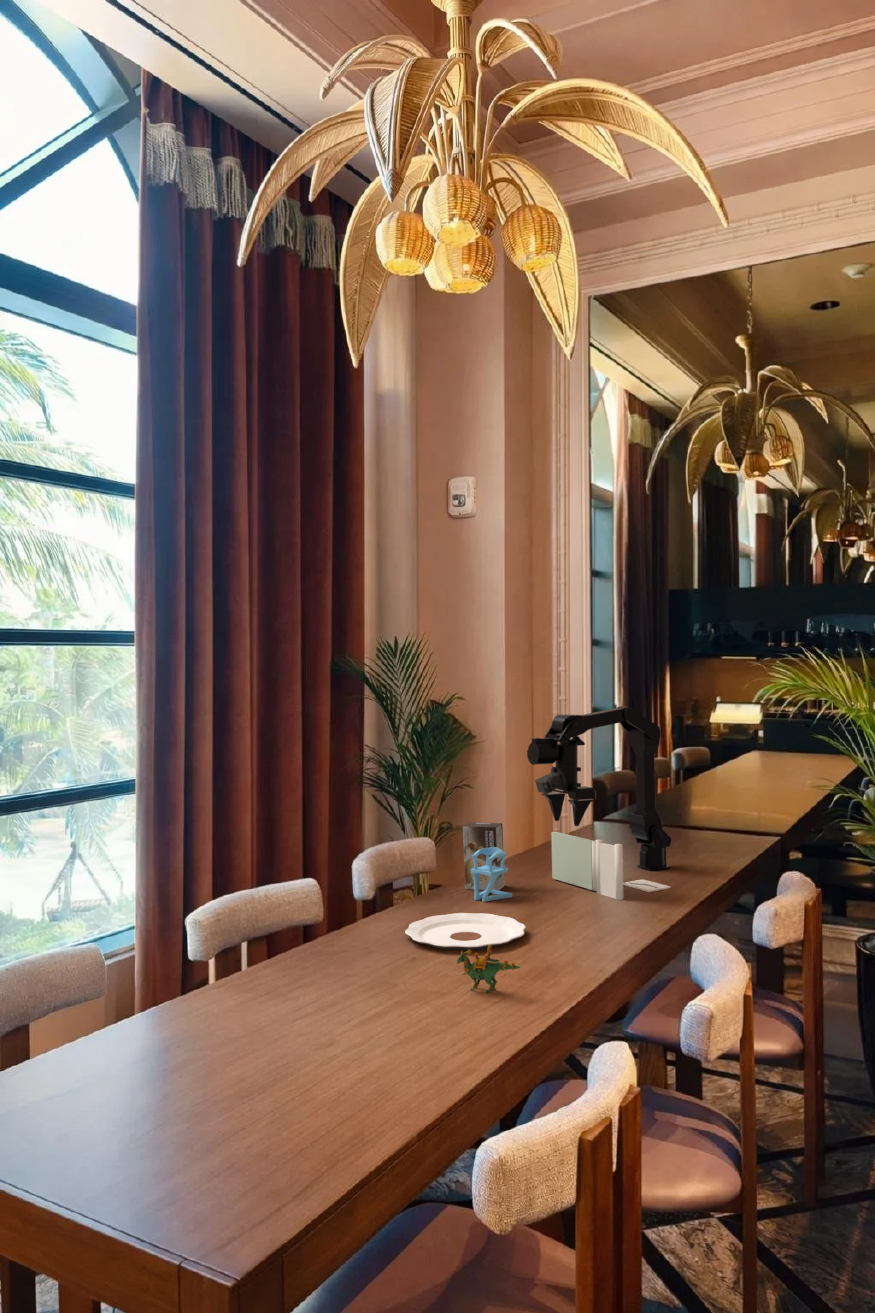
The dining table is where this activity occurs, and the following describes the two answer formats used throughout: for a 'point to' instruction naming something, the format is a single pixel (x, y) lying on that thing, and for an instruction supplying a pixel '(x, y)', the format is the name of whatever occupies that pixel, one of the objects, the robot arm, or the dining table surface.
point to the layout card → (646, 885)
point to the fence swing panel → (574, 860)
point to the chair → (489, 874)
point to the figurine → (483, 968)
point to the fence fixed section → (609, 869)
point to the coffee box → (475, 840)
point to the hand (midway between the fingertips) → (566, 823)
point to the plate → (465, 930)
